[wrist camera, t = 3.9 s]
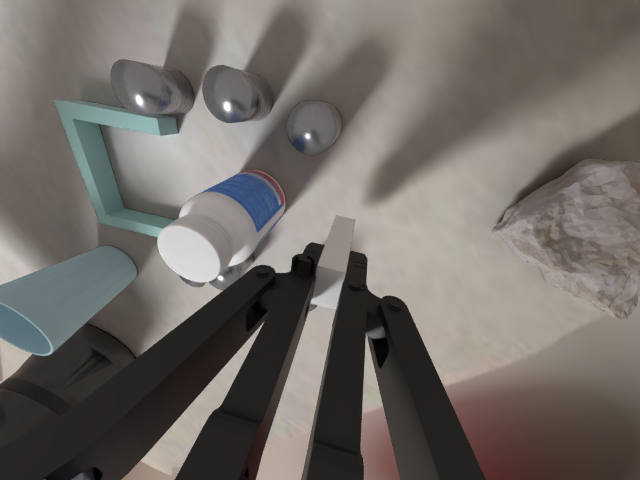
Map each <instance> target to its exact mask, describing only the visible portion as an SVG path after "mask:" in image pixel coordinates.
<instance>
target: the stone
mask: <svg viewBox="0 0 640 480" xmlns="http://www.w3.org/2000/svg"><path fill="white" fill-rule="evenodd" d="M492 234H493V235H500V236H501V237H502V239H503V240H504V241H505V242H506V243H507V244H508V246H509V247H510V249H511V250H512V251H513V253H514V254H515V255H517V256H518V257H521V258H523V259H525V261H526V262H528V263H531V264H533V265H536V266H538V267H539V268H540V269H541V270H542V273H543V279H544V280H545V282H547V283H548V284H550V285H551V286H554V287H557V288H562V289H564V290H566V291H568V292H571V293H572V294H573V295H574V296H576V297H580V298H584V299H586V300H587V301H589V302H590V303H591V304H592V305H593V306H595V307H597V308H599V309H600V310H602V311H603V312H605V313H607V314H609V315H611V316H613V317H615V318H617V319H626V318H628V317H629V315H630V314H631V313H632V311H633V310H634V309H635V308H636V307H637V303H638V297H639V296H640V163H638V162H636V161H606V160H602V159H585V160H582V161H580V162H578V163H577V164H576V165H575V166H573V167H572V168H570V169H569V170H568V171H566V172H565V173H564V174H563V175H562V176H561V177H559V178H556V179H554V180H552V181H550V182H549V183H547V184H545V185H543V186H541V187H540V188H539V189H537V190H535V191H533V192H532V193H531V194H530V195H528V196H527V197H525V198H523V199H522V200H521V201H520V202H518V203H517V204H515V205H513V206H512V207H510V208H509V209H507V210H506V212H505V215H504V217H503V219H502V221H501V222H500V223H499V224H498V225H496V226H495V227H494V228H493V229H492Z"/></svg>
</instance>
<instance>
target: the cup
mask: <svg viewBox="0 0 640 480" xmlns="http://www.w3.org/2000/svg"><path fill="white" fill-rule="evenodd" d="M136 277H137V269H136V266H135V264H134V263H133V261H132V260H131V259H130V258H129V257H128V256H127V255H126V254H125V253H124V252H122V251H121V250H119V249H117V248H115V247H111V246H102V247H99V248H96V249H93V250H91V251H88V252H85V253H83V254H80V255H78V256H75V257H72V258H70V259H67V260H65V261H62V262H60V263H57V264H54V265H52V266H49V267H47V268H44V269H42V270H39V271H36V272H34V273H31V274H29V275H26V276H23V277H21V278H18V279H16V280H13V281H11V282H8V283H5V284H3V285H0V338H2V339H3V340H5V341H6V342H8V343H10V344H11V345H13V346H15V347H17V348H19V349H21V350H24V351H26V352H29V353H32V354H35V355H41V356H47V355H50V354H52V353H53V352H54V351H55V350H56V349H58V348H59V347H60V346H61V345H62V344H63V343H64V342H65V341H67V340H68V339H69V338H70V337H71V336H72V335H73V334H74V333H75V332H76V331H77V330H78V329H79V328H81V327H82V326H83V325H84V324H85V323H86V322H87V321H88V320H90V319H91V318H92V317H93V316H94V315H95V314H96V313H97V312H99V311H100V310H101V309H102V308H103V307H104V306H105V305H106V304H108V303H109V302H110V301H111V300H112V299H113V298H114V297H115V296H117V295H118V294H119V293H120V292H121V291H122V290H123V289H124V288H125V287H127V286H128V285H129V284H130V283H131V282H132V281H133V280H134V279H135V278H136Z"/></svg>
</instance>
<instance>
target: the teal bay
mask: <svg viewBox="0 0 640 480" xmlns="http://www.w3.org/2000/svg"><path fill="white" fill-rule="evenodd" d="M53 100H54V103H55V106H56V108H57V111H58V114H59V116H60V119H61V122H62V124H63V127H64V130H65V132H66V135H67V138H68V140H69V143H70V146H71V148H72V151H73V154H74V156H75V159H76V162H77V164H78V167H79V170H80V172H81V175H82V178H83V180H84V183H85V186H86V188H87V191H88V194H89V196H90V199H91V201H92V204H93V207H94V209H95V212H96V215H97V217H98V220H99V223H101V224H105V225H109V226H113V227H117V228H122V229H126V230H130V231H134V232H138V233H142V234H146V235H151V236H155V237H158V235H159V233H160V232H161V230H162V229H163V228H165V227H166V226H168V225H169V224H171V223H172V222H174V221H175V220H173V219H169V218H165V217H160V216H156V215H152V214H147V213H143V212H139V211H135V210H130V209H126V208H124V206H123V203H122V200H121V196H120V193H119V190H118V186H117V183H116V180H115V177H114V173H113V170H112V167H111V163H110V160H109V157H108V154H107V150H106V147H105V144H104V140H103V137H102V134H101V131H100V127H99V124H103V125H108V126H113V127H118V128H123V129H128V130H134V131H139V132H144V133H149V134H154V135H159V136H162V135H170V134H178V129H177V122H176V118H173V117H168V116H163V115H157V114H145V115H140V114H135V113H133V112H131V111H129V110H128V109H125V108H120V107H114V106H109V105H104V104H98V103H93V102H87V101H82V100H61V99H53Z"/></svg>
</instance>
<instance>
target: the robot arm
mask: <svg viewBox="0 0 640 480" xmlns="http://www.w3.org/2000/svg"><path fill="white" fill-rule="evenodd" d="M354 226H355V219H350V218H346V217H341V216H337V215H336V216H335V219H334V222H333V225H332V227H331V230H330V233H329V235H328V238H327V241H326V243H325V245H321V244H317V243H313V242H311V243H310V244H308V245H307V246H306V248H305V250H304V252H303V254H297V255H295V256H294V257H293V258H292V266H291V271H290V272H288V273H275V270H274V269H273V268H272V267H270V266H267V265H259V266H255V267H254V268H252V269H251V270H249V271H248V272H247V273H246V274H244V275H243V276H242V277H240V278H239V279H238V280H237V281H235V282H234V283H233V284H231V285H230V286H229V287H228V288H226V289H225V290H224V291H222V292H221V293H220V294H219V295H217V296H216V297H215V298H213V299H212V300H211V301H210V302H208V303H207V304H206V305H204V306H203V307H202V308H201V309H199V310H198V311H197V312H195V313H194V314H193V315H192V316H190V317H189V318H188V319H186V320H185V321H184V322H183V323H181V324H180V325H179V326H177V327H176V328H175V329H174V330H172V331H171V332H170V333H168V334H167V335H166V336H165V337H163V338H162V339H161V340H159V341H158V342H157V343H156V344H154V345H153V346H152V347H150V348H149V349H148V350H147V351H145V352H144V353H143V354H141V355H140V356H139V357H138V358H136V359H135V358H134V356H133V355H132V354H131V352H130V351H129V350H128V349H127V348H126V347H125V346H123V345H122V344H121V343H120V342H119V341H117V340H116V339H115V338H113V337H112V336H110V335H108V334H107V333H105V332H103V331H101V330H99V329H97V328H95V327H93V326H90V325H87V324H84V325H83V326H82V327H81V328H79V329H78V330H77V331H76V332H75V333H74V334H73V335H72V336H71V337H70V338H69V339H68V340H67V341H65V342H64V343H63V344H62V345H61V346H60V347H59V348H58V349H56V350H55V351H54V352H53V353H52V354H50V355H47V356H41V355H35V354H32V355H31V356H30V357H29V358H28V359H27V360H26V361H25V363H24V364H23V365H22V366H21V367H20V368H19V369H18V370H17V371H16V372H15V373H14V374H13V375H12V376H10V377H9V378H8V379H6V380H5V381H4V382H2V383H1V384H0V480H121V479H122V478H123V477H125V476H126V475H127V474H128V473H129V472H130V471H131V470H132V469H133V468H134V467H135V465H136V464H137V463H138V462H139V461H140V460H141V459H142V458H143V457H144V456H145V455H146V454H147V453H148V452H149V450H150V449H151V448H152V447H153V446H154V445H155V444H156V443H157V441H158V440H159V439H160V438H161V437H162V436H163V435H164V434H165V432H166V431H167V430H168V429H169V428H170V427H171V426H172V425H173V423H174V422H175V421H176V420H177V419H178V418H179V417H180V416H181V414H182V413H183V412H184V411H185V410H186V409H187V408H188V407H189V405H190V404H191V403H192V402H193V401H194V400H195V399H196V398H197V396H198V395H199V394H200V393H201V392H202V391H203V390H204V389H205V387H206V386H207V385H208V384H209V383H210V382H211V381H212V380H213V378H214V377H215V376H216V375H217V374H218V373H219V372H220V371H221V369H222V368H223V367H224V366H225V365H226V364H227V363H228V362H229V360H230V359H231V358H232V357H233V356H234V355H235V354H236V353H237V351H238V350H239V349H240V348H241V347H242V346H243V345H244V344H245V342H246V341H247V340H248V339H249V338H250V337H251V336H252V335H253V333H254V332H255V331H256V330H257V329H258V328H259V327H260V326H261V324H262V323H263V322H264V321H265V322H264V324H263V326H262V328H261V330H260V332H259V333H258V335H257V337H256V339H255V341H254V343H253V345H252V347H251V349H250V351H249V353H248V355H247V357H246V359H245V361H244V363H243V364H242V366H241V368H240V370H239V372H238V374H237V376H236V378H235V380H234V382H233V384H232V386H231V388H230V390H229V392H228V394H227V395H226V397H225V399H224V401H223V403H222V405H221V406H220V407H219V408H218V409H216V410H214V411H213V412H212V414H211V415H210V416H209V418H208V420H207V421H206V423H205V425H204V427H203V428H202V430H201V432H200V434H199V436H198V438H197V440H196V441H195V443H194V445H193V447H192V449H191V451H190V453H189V454H188V456H187V458H186V460H185V462H184V464H183V466H182V467H181V469H180V471H179V473H178V475H177V477H176V479H175V480H256V476H257V473H258V469H259V465H260V461H261V457H262V453H263V450H264V447H265V444H266V441H267V438H268V435H269V432H270V429H271V426H272V422H273V419H274V416H275V413H276V410H277V407H278V404H279V401H280V398H281V395H282V392H283V389H284V386H285V383H286V380H287V376H288V373H289V370H290V367H291V364H292V361H293V358H294V355H295V352H296V349H297V346H298V343H299V340H300V337H301V333H302V330H303V327H304V324H305V321H306V318H307V315H308V312H309V307H310V303H311V304H315V305H319V306H322V307H326V308H330V309H334V310H336V313H335V317H334V321H333V324H332V331H331V336H330V341H329V346H328V351H327V356H326V361H325V366H324V371H323V376H322V381H321V386H320V391H319V396H318V401H317V406H316V411H315V415H314V420H313V425H312V430H311V435H310V440H309V445H308V450H307V455H306V460H305V465H304V470H303V474H302V479H301V480H363V479H364V465H363V458H362V455H361V451H360V440H361V420H362V400H363V379H364V358H365V338H366V335H367V336H368V342H369V347H370V351H371V355H372V359H373V364H374V368H375V372H376V377H377V381H378V385H379V390H380V394H381V398H382V403H383V407H384V411H385V416H386V419H387V424H388V429H389V433H390V437H391V441H392V446H393V450H394V454H395V459H396V463H397V467H398V472H399V476H400V480H486V479H485V477H484V475H483V473H482V470H481V468H480V466H479V464H478V461H477V459H476V457H475V455H474V453H473V451H472V448H471V446H470V444H469V442H468V440H467V437H466V435H465V433H464V431H463V428H462V426H461V424H460V422H459V420H458V417H457V415H456V413H455V411H454V409H453V406H452V404H451V402H450V400H449V398H448V396H447V393H446V391H445V389H444V387H443V385H442V382H441V380H440V378H439V376H438V374H437V371H436V369H435V367H434V365H433V363H432V360H431V358H430V356H429V354H428V352H427V349H426V347H425V345H424V343H423V341H422V338H421V336H420V334H419V332H418V330H417V327H416V325H415V323H414V321H413V319H412V316H411V314H410V312H409V310H408V308H407V306H406V304H405V303H404V302H403V301H402V300H401V299H399V298H397V297H394V296H385V297H383V298H382V299H381V298H379V297H377V296H375V295H373V294H372V293H371V292H370V291H369V290H368V288H367V285H366V277H367V257H366V256H365V254H362V253H358V252H354V251H350V248H351V242H352V237H353V231H354Z"/></svg>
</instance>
